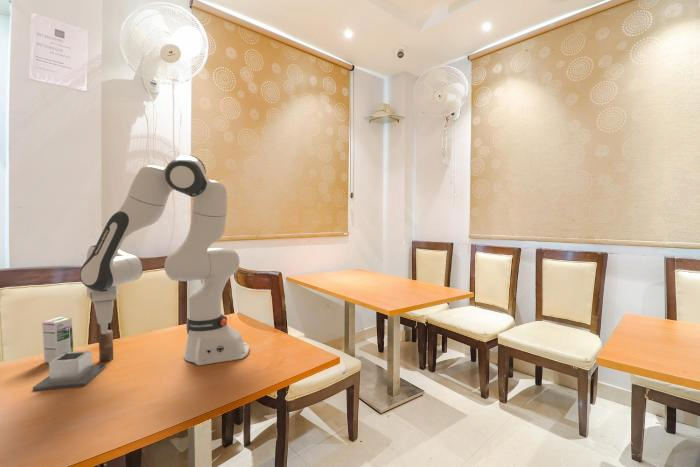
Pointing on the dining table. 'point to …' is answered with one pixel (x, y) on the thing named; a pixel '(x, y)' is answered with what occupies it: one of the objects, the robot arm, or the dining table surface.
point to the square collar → (70, 371)
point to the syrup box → (57, 337)
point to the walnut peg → (106, 346)
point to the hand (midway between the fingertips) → (103, 328)
